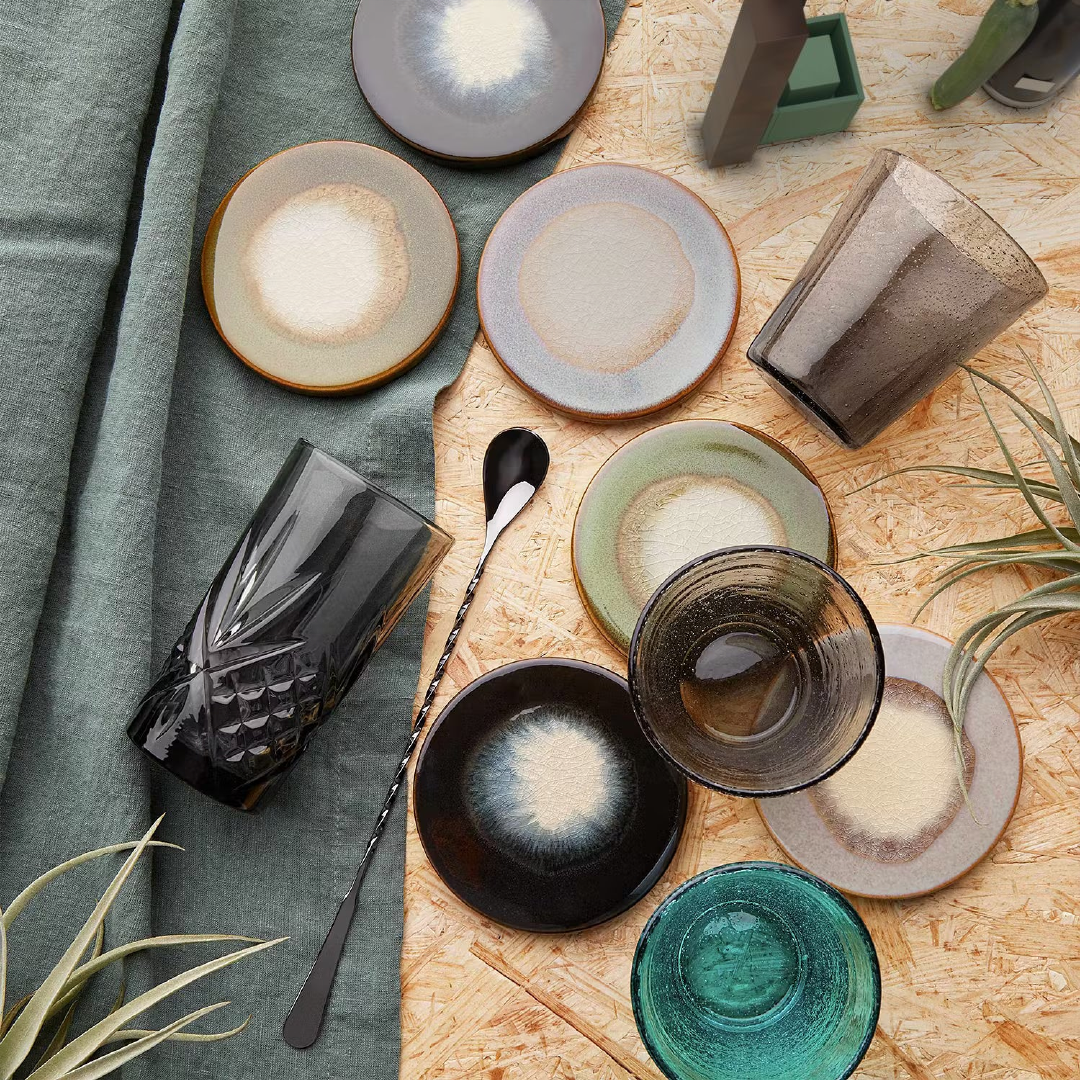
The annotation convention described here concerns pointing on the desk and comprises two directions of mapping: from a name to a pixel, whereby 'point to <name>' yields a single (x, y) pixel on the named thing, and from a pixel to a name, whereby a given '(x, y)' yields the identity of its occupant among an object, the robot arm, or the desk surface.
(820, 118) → the sage bin
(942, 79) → the vegetable
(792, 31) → the stand
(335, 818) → the desk surface
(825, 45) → the sage block
